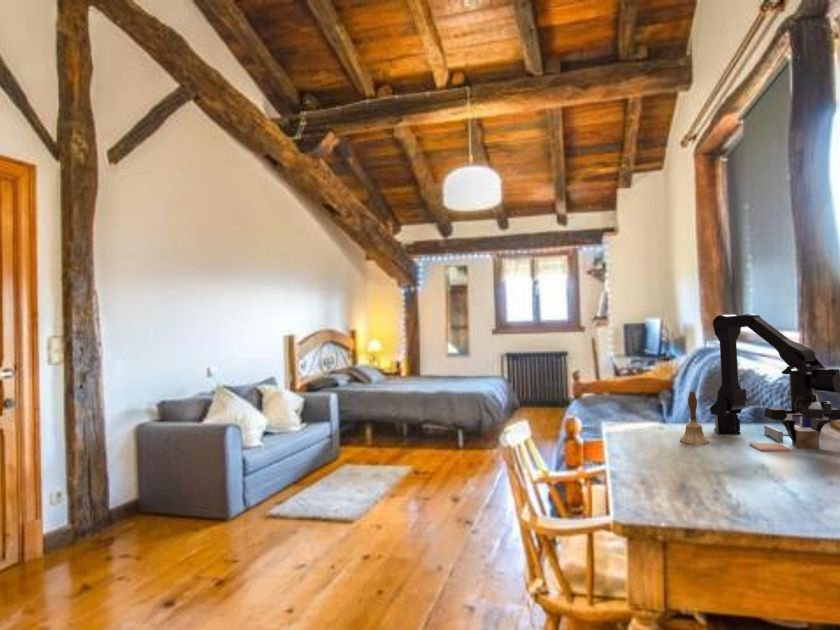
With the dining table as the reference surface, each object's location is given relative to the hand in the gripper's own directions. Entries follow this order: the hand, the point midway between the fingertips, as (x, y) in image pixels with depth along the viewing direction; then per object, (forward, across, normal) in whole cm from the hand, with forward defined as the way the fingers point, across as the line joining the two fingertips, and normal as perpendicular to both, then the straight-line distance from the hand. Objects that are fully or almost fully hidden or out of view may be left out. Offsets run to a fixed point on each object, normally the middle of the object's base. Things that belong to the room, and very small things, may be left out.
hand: (804, 442), depth 162 cm
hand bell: (+1, -29, +5) cm, 29 cm away
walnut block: (+1, 0, -1) cm, 1 cm away
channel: (+1, 0, +12) cm, 12 cm away
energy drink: (+1, +12, +25) cm, 27 cm away
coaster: (+1, -10, -3) cm, 11 cm away
